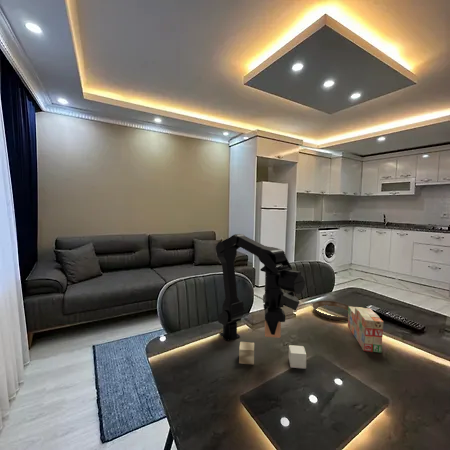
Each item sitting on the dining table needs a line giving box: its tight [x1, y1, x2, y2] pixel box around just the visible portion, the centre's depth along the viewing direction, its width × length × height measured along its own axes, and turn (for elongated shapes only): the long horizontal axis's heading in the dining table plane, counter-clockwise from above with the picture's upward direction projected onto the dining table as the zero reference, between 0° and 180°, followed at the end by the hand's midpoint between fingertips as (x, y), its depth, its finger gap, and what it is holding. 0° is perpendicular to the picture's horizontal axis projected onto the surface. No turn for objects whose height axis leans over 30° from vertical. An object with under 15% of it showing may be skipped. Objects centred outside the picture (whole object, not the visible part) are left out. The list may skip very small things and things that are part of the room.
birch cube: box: [238, 341, 255, 366], centre depth 88 cm, size 5×5×5 cm
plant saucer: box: [311, 300, 352, 321], centre depth 129 cm, size 21×21×3 cm
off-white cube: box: [288, 344, 307, 369], centre depth 86 cm, size 5×5×5 cm
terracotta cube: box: [264, 320, 282, 339], centre depth 86 cm, size 5×5×5 cm
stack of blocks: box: [347, 305, 384, 354], centre depth 104 cm, size 21×6×12 cm, turn 169°
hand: (272, 330), depth 86 cm, fingers closed on terracotta cube, 5 cm apart
